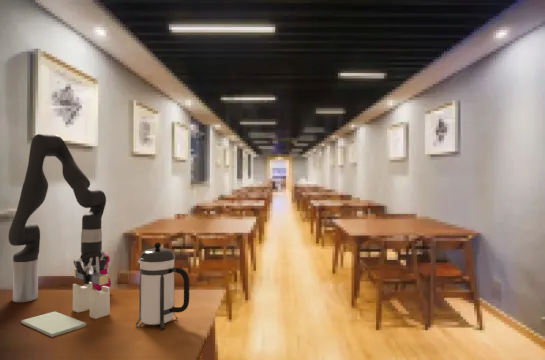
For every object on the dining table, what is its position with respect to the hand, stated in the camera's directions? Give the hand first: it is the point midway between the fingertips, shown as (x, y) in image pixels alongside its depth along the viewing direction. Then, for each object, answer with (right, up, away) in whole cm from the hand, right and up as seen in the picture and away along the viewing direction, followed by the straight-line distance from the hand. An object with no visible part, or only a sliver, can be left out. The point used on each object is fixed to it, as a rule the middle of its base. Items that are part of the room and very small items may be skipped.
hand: (90, 282), depth 155 cm
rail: (0, +1, 0) cm, 1 cm away
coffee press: (+31, -12, -11) cm, 35 cm away
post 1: (-5, -12, +3) cm, 13 cm away
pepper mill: (-6, -12, +25) cm, 28 cm away
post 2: (+5, -12, -4) cm, 13 cm away
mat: (-7, -12, -13) cm, 19 cm away
